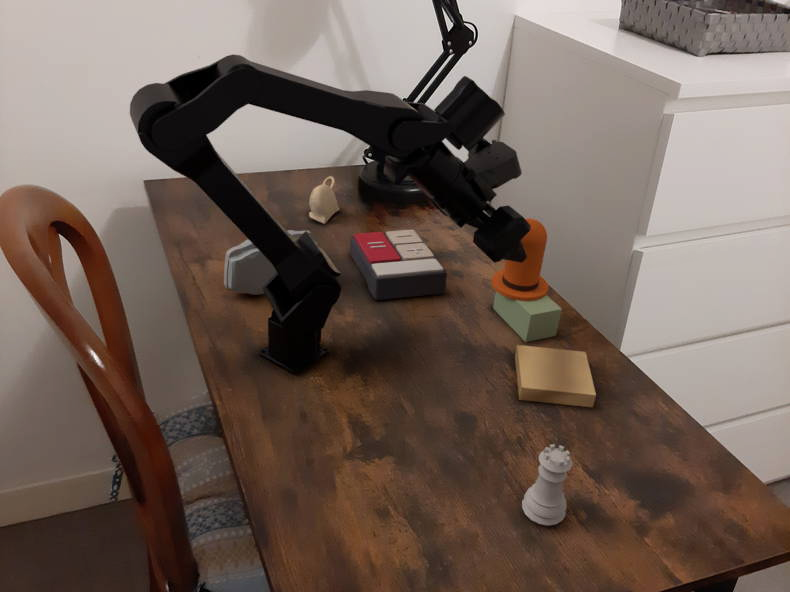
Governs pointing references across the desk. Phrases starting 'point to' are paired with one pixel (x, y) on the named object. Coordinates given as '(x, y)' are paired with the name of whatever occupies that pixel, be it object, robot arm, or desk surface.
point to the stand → (554, 376)
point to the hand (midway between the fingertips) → (505, 243)
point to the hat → (525, 269)
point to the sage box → (529, 316)
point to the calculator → (397, 264)
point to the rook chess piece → (548, 488)
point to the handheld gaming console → (250, 267)
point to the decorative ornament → (323, 202)
